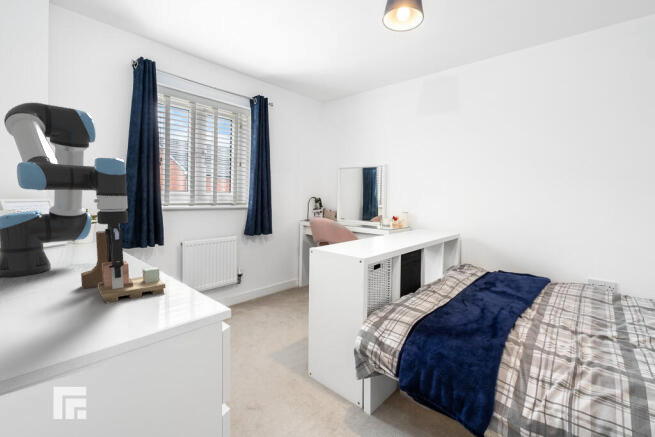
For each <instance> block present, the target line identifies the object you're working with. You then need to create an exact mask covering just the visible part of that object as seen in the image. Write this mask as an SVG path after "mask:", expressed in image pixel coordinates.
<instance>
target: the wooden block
mask: <svg viewBox="0 0 655 437" xmlns="http://www.w3.org/2000/svg"><path fill="white" fill-rule="evenodd" d="M95 238H96V256H97V257H96V258H97V259H96V260H97V261H96V264H95V266H94V267H93V268H92V269H90V270H87V271H83V272H81V273H80V276H81V278H80V280H81V281H80V282H81V286H82V289H92V288H98V283H100V282H103V277H102V263H106V262H108V259H107V242H106V235H105V230H101V231H100V230H98V231H96V232H95Z"/></svg>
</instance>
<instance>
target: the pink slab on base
mask: <svg viewBox="0 0 655 437" xmlns="http://www.w3.org/2000/svg"><path fill="white" fill-rule="evenodd" d="M119 262H120V261H119ZM123 262H124V265H123V286H124V287H123V288H125V287H131V286H133V282H132V280H131V278H130V274H129V263H128V262H127V261H126V260H125V259H123ZM111 265H112V262H106V263H102V277H103V282H100V283H99V288H100V290H101V291H107V290H113V289H112V273H111V268H109V266H111ZM117 289H119V288H117Z"/></svg>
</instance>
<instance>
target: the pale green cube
mask: <svg viewBox="0 0 655 437" xmlns="http://www.w3.org/2000/svg"><path fill="white" fill-rule="evenodd" d="M142 277H143V281H144V282H145V283H150V282H156V281H160V280H161V279H160V268H159V267H157V266H151V267H143V268H142Z"/></svg>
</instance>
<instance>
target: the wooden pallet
mask: <svg viewBox="0 0 655 437" xmlns="http://www.w3.org/2000/svg"><path fill="white" fill-rule="evenodd" d="M130 279H131V280H132V282H133V286H131V287H125V288H119V289H113V290H107V291H101V290H100V288H99V283H98V287H97V289H98V291H99V293H100V295H101V296H100V297H101V298H102V300H103V301H104V303H105V304H107V303H109V304H110V303H113V302H118V301H119V297H123V296H124V297H125V296H128V297H129V299H135V298H139V297H143V293H146V292H147V293H148V292H151V294H153V295H155V294H162V293H165V289H166V283H165V282H163V280H161V279H160V281H156V282H150V283H145V282H144V281H143V276H139V277H132V278H130Z"/></svg>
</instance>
